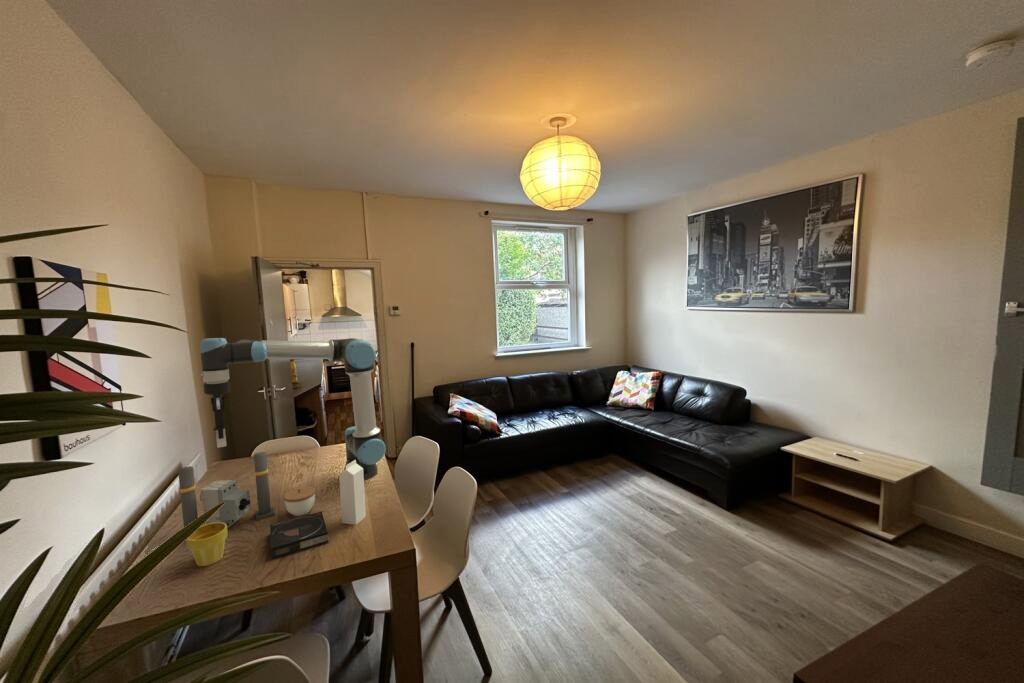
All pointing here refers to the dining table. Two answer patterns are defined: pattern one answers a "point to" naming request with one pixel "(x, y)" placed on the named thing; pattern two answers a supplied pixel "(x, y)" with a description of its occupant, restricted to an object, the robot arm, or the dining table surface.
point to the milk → (352, 494)
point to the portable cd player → (297, 534)
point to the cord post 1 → (187, 494)
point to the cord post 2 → (262, 487)
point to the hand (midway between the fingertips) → (221, 446)
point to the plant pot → (208, 543)
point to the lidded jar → (299, 500)
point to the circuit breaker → (228, 493)
